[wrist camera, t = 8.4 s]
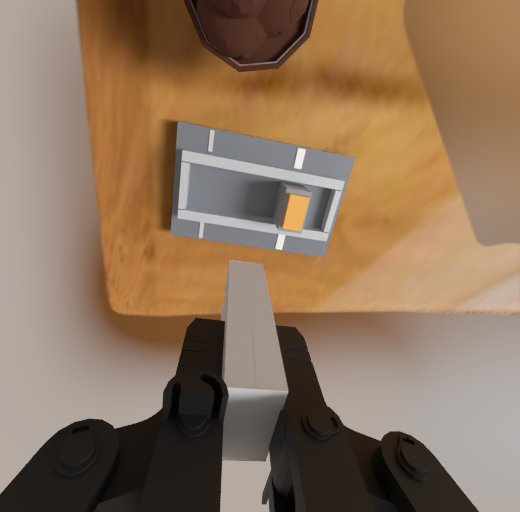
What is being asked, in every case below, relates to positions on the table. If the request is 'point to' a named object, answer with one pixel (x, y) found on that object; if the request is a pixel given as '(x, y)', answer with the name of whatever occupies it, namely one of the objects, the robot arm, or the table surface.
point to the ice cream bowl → (252, 29)
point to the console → (252, 189)
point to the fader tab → (291, 207)
